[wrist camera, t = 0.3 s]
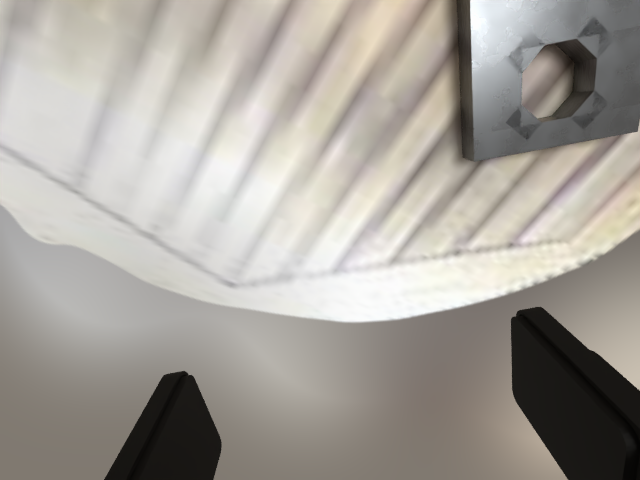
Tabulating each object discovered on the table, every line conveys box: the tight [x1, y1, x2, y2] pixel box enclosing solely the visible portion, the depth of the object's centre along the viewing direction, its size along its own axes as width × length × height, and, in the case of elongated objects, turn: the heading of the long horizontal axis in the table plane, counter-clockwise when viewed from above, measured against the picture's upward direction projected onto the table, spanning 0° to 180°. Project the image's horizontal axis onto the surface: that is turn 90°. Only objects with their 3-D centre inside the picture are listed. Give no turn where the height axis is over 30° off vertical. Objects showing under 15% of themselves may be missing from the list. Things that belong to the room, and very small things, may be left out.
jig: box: [457, 0, 640, 162], centre depth 31 cm, size 22×16×7 cm
